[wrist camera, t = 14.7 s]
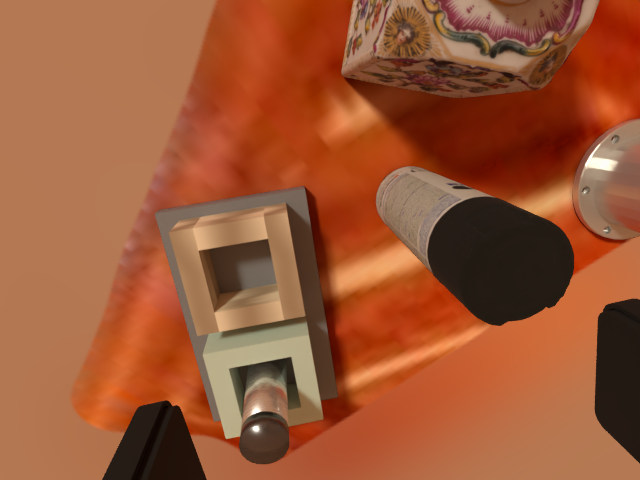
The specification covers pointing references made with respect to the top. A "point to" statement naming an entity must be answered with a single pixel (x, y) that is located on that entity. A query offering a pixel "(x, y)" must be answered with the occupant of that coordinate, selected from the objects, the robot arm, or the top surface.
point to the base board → (258, 277)
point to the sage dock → (257, 347)
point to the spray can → (478, 244)
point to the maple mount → (240, 305)
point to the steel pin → (265, 413)
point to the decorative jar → (463, 43)
